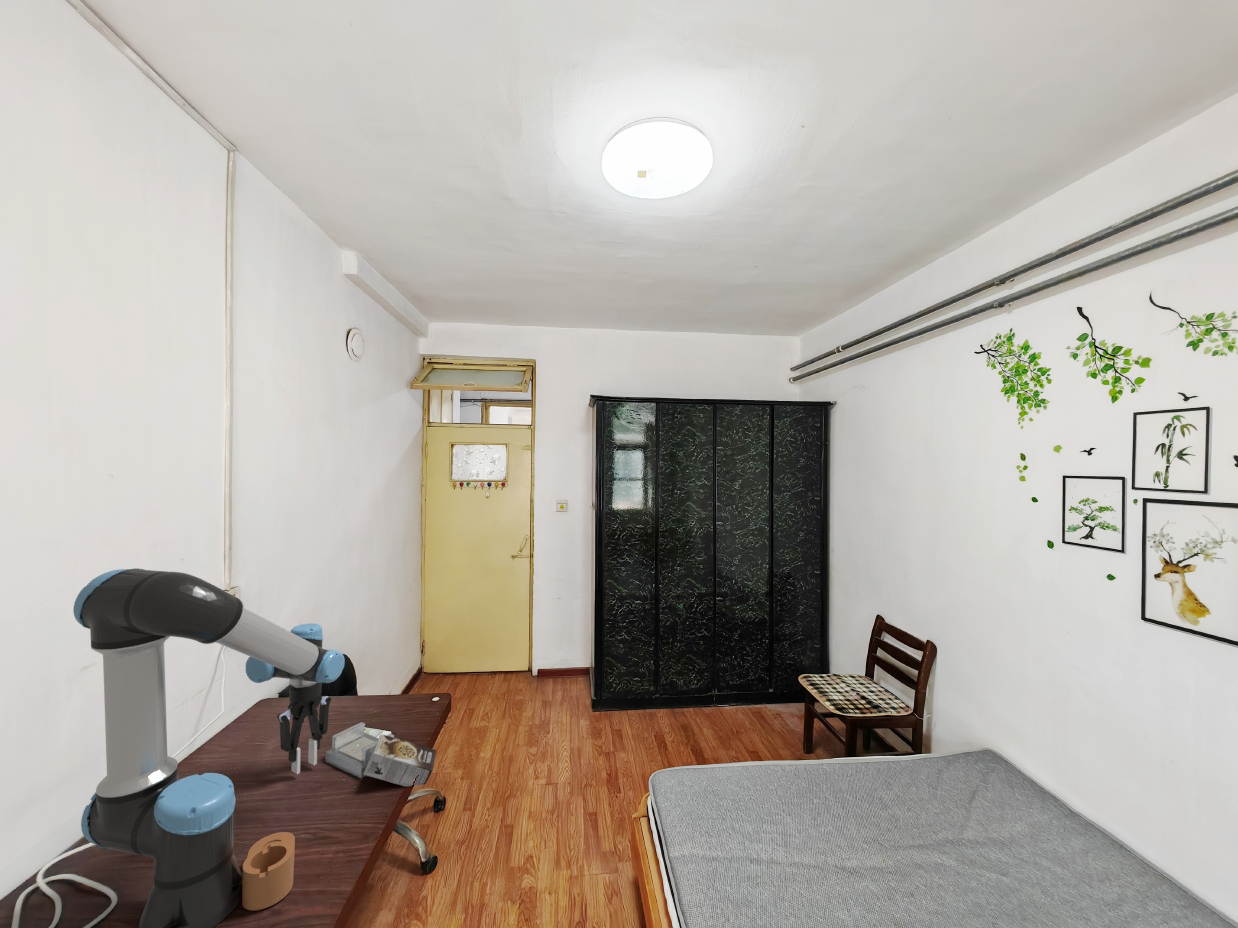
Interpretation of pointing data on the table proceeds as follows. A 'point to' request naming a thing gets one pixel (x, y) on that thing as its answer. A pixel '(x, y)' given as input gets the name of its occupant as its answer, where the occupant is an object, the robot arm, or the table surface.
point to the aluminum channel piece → (352, 750)
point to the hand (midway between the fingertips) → (304, 767)
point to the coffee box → (400, 762)
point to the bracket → (268, 871)
